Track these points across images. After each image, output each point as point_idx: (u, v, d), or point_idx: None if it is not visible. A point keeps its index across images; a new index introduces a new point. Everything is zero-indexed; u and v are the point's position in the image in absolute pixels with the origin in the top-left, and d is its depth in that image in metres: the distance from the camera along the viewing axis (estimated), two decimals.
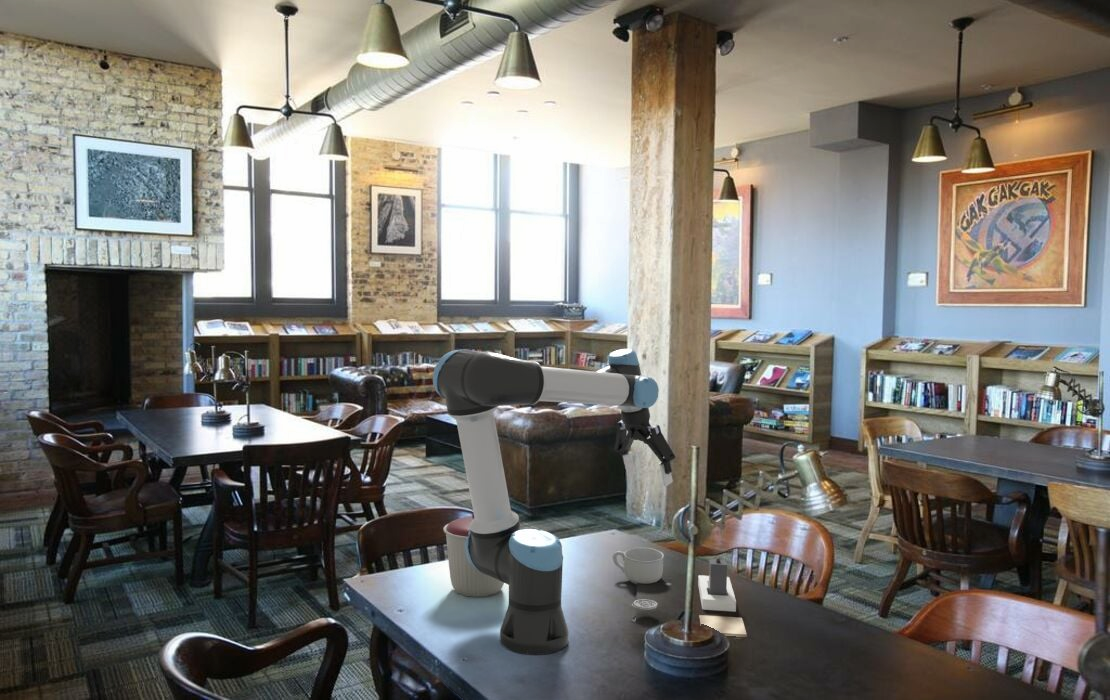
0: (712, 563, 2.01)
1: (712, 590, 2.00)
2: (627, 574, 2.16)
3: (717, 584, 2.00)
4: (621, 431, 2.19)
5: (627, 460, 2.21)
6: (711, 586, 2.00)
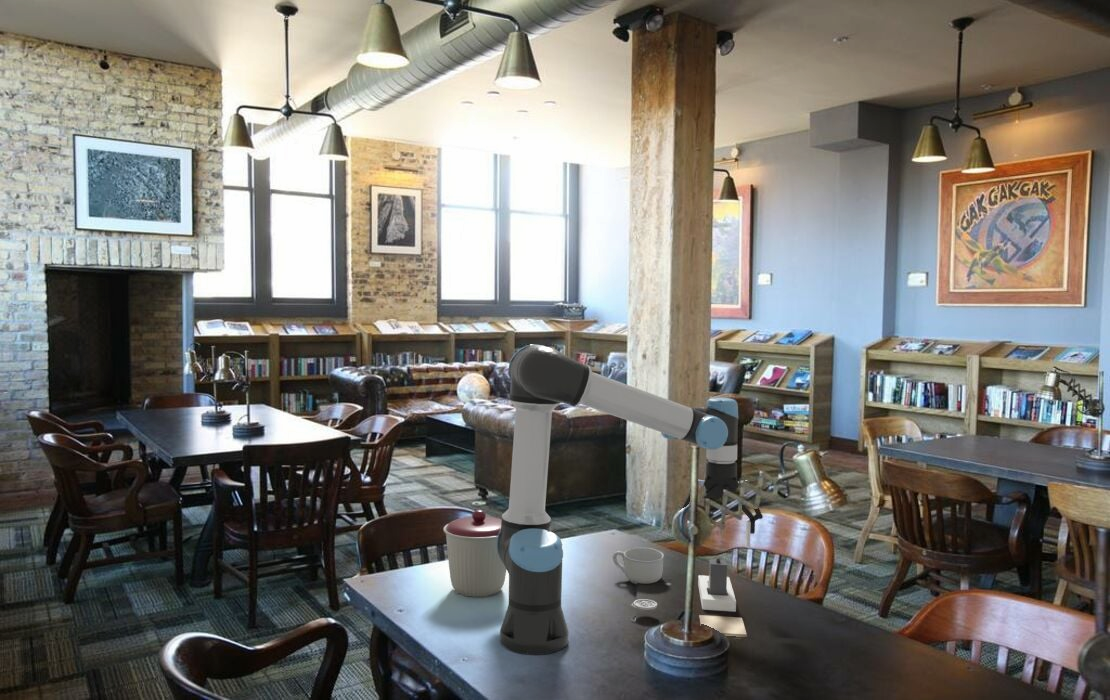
0: (712, 563, 2.01)
1: (712, 590, 2.00)
2: (627, 574, 2.16)
3: (717, 584, 2.00)
4: None
5: None
6: (711, 586, 2.00)
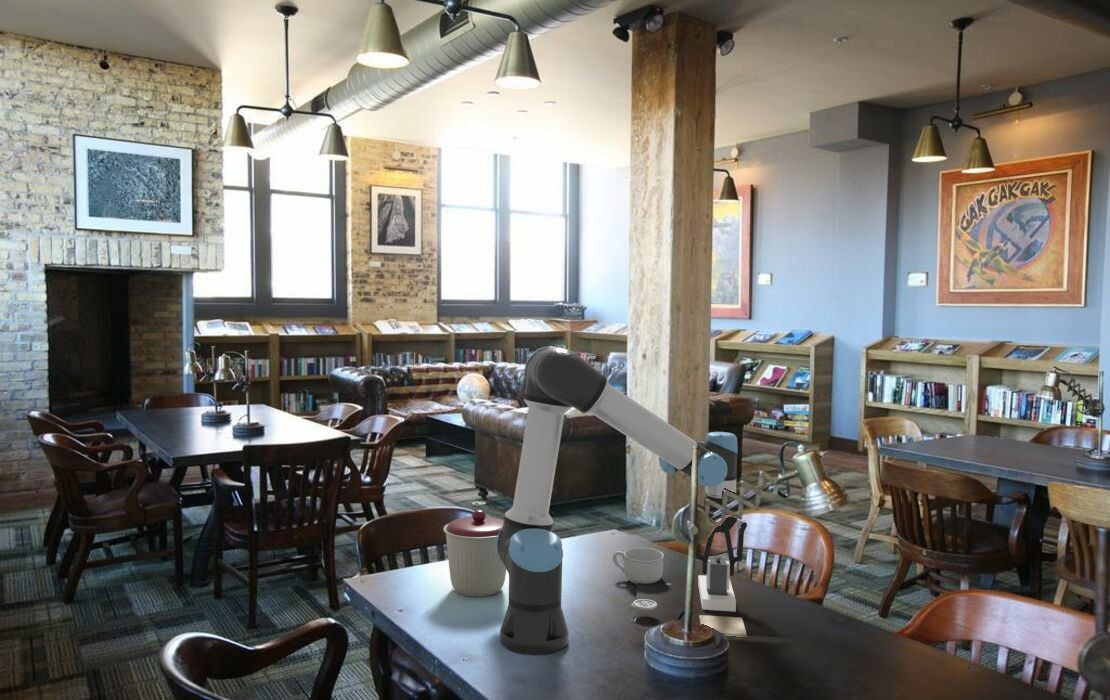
0: (712, 563, 2.01)
1: (712, 590, 2.00)
2: (627, 574, 2.16)
3: (717, 584, 2.00)
4: None
5: None
6: (711, 586, 2.00)
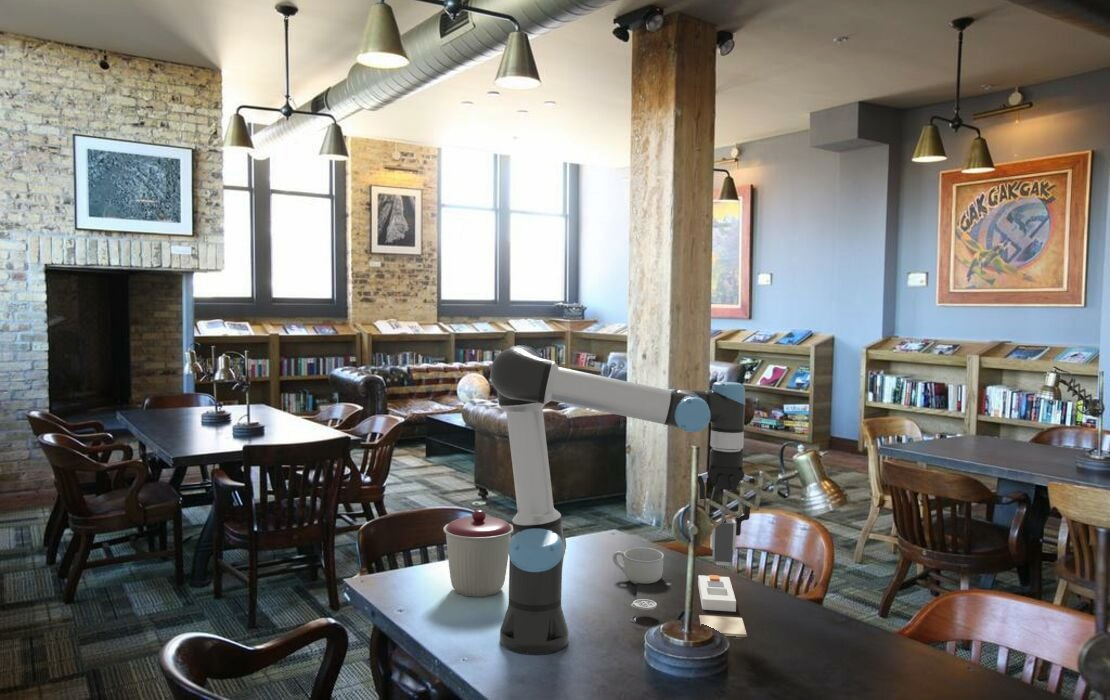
0: None
1: (717, 551, 1.87)
2: (627, 574, 2.16)
3: (722, 544, 1.87)
4: (704, 485, 1.88)
5: None
6: (716, 547, 1.87)
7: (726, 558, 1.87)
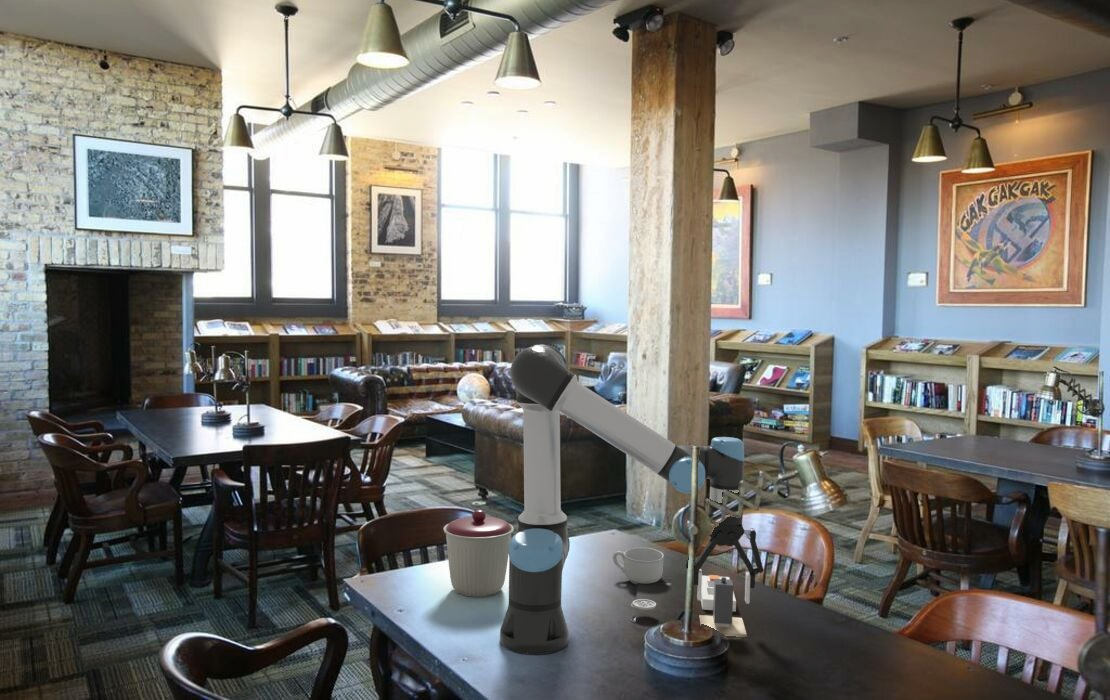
0: (717, 583, 1.86)
1: (717, 612, 1.85)
2: (627, 574, 2.16)
3: (722, 606, 1.85)
4: None
5: (701, 578, 1.87)
6: (716, 608, 1.85)
7: (726, 619, 1.85)
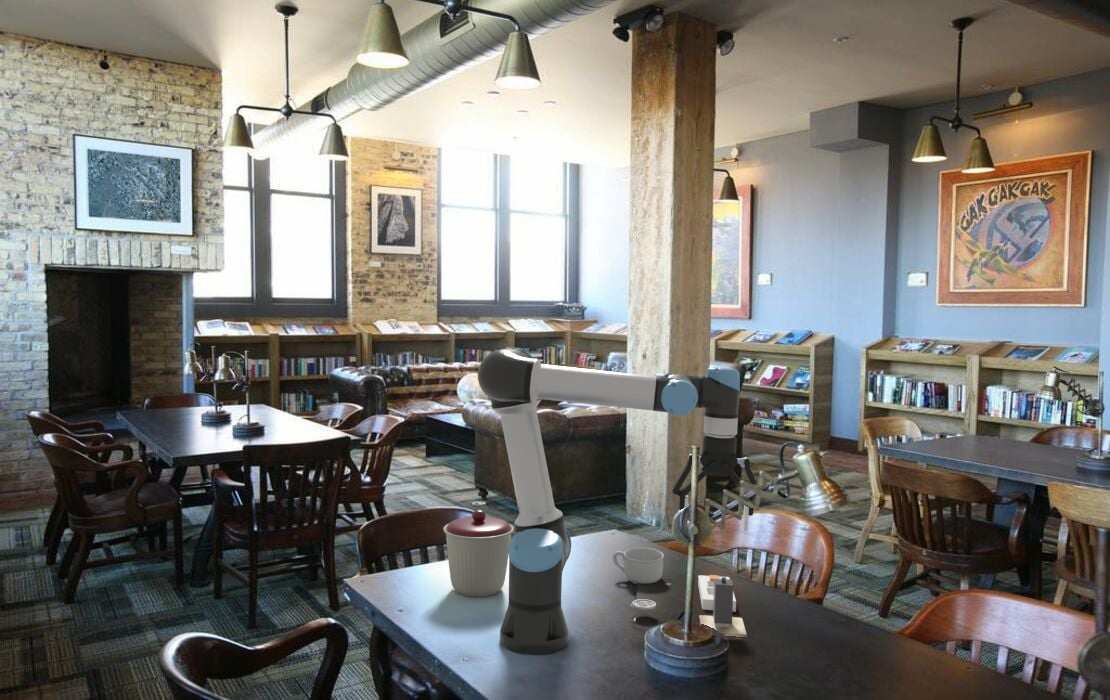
0: (717, 583, 1.86)
1: (717, 612, 1.85)
2: (627, 574, 2.16)
3: (722, 606, 1.85)
4: None
5: (687, 504, 1.85)
6: (716, 608, 1.85)
7: (726, 619, 1.85)
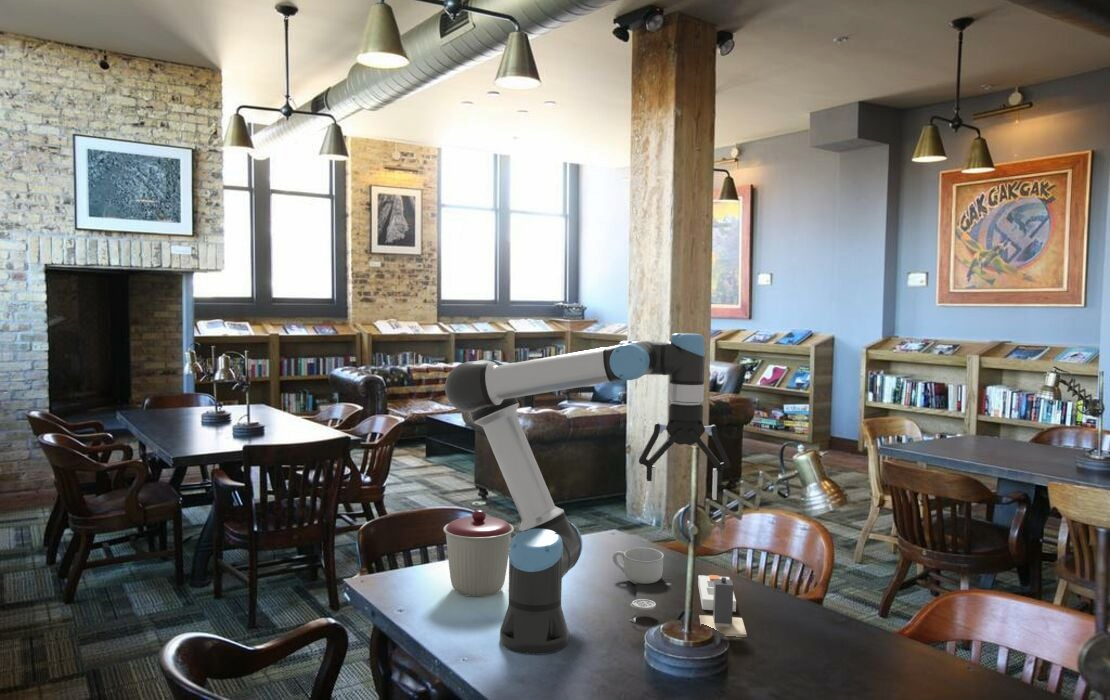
0: (717, 583, 1.86)
1: (717, 612, 1.85)
2: (627, 574, 2.16)
3: (722, 606, 1.85)
4: (658, 435, 1.80)
5: None
6: (716, 608, 1.85)
7: (726, 619, 1.85)
